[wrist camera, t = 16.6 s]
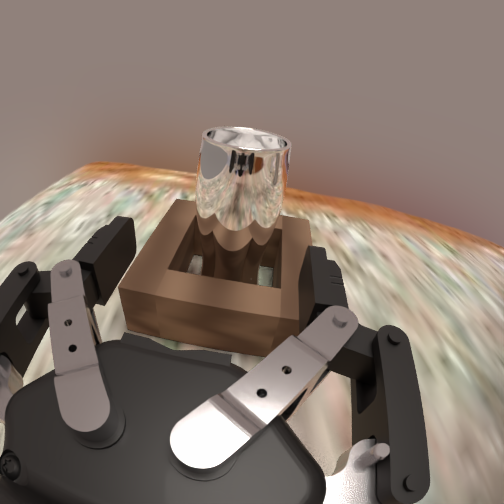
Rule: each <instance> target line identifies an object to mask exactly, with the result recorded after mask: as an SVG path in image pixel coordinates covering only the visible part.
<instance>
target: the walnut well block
mask: <svg viewBox="0 0 504 504" xmlns="http://www.w3.org/2000/svg"><path fill="white" fill-rule="evenodd" d="M308 245H310V246H312V239H311V232H310V225H309V220H305V219H300V218H294V217H288V216H283V215H279V218H278V220H277V223H276V226H275V228H274V231H273V233H272V236H271V238H270V240H269V243H268V245H267V247H266V250H265V252H264V255H263V257H262V260H261V263H260V265H261V266H267V267H273V268H274V269H273V286H272V287H267V286H260V285H254V284H248V283H242V282H236V281H230V280H224V279H218V278H213V277H207V276H201V275H196V274H190V273H186V272H187V269H188V267H189V265H190V262H191V260H192V257H193V255H194V254H195V255H201V256H202V247H201V240H200V234H199V228H198V221H197V213H196V202H194V201H187V200H180V199H176V200H175V202H174V203H173V205H172V206H171V207H170V209H169V210H168V212H167V213H166V214H165V216H164V217H163V219H162V220H161V222H160V223H159V224H158V226H157V227H156V229H155V230H154V232H153V233H152V235H151V236H150V238H149V239H148V241H147V242H146V244H145V245H144V247H143V248H142V250H141V251H140V253H139V254H138V256H137V257H136V259H135V260H134V262H133V264H132V265H131V267H130V268H129V270H128V272H127V273H126V275H125V276H124V278H123V280H122V281H121V283H120V284H119V286H118V289H119V294H120V299H121V303H122V307H123V312H124V316H125V320H126V324H127V328H128V330H132V331H135V332H139V333H143V334H147V335H152V336H156V337H160V338H164V339H169V340H173V341H178V342H183V343H188V344H192V345H197V346H203V347H208V348H213V349H219V350H224V351H230V352H236V353H242V354H249V355H256V356H263V357H267V356H268V355H269V354H270V353H271V352H272V351H274V350H275V349H276V348H277V347H278V346H279V345H280V344H282V343H283V342H284V341H285V340H286V339H287V338H288V337H290V336H291V335H295V336H296V337H297V336H298V335H299V298H298V280H299V274H300V271H301V267H302V264H303V260H304V256H305V253H306V249H307V247H308Z"/></svg>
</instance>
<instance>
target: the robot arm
mask: <svg viewBox="0 0 504 504" xmlns="http://www.w3.org/2000/svg"><path fill="white" fill-rule="evenodd" d="M135 254H136V238H135V228H134V221H133V219H132V218H129V217H121V216H117V217H115V218H114V220H113V221H112V222H111V223H110V224H109V225H105V226H104V227H102V228H100V229H99V230H97V231H96V232H95V234H94V235H93V236H92V238H90V239H89V240H88V242H87V243H86V244H85V245H84V246H83V247H82V249H81V250H80V251H79V252H78V253H77V255H76V256H75V257H74V258H73V259H72V260H64V261H61V262H59V263H57V264H56V265H55V266H54V267H53V268H52V270H51V271H38V269H37V266H36V264H35V263H34V262H30V261H28V262H23V263H21V264H19V265H17V266H16V267H15V268H14V269H13V270H12V272H11V273H10V274H9V275H8V277H7V278H6V279H5V281H4V282H3V283H2V285H1V286H0V423H2V424H4V425H5V440H4V448H3V452H2V455H1V457H0V504H413V503H416V502H418V501H420V500H421V499H422V498H423V497H424V496H425V495H426V493H427V491H428V489H429V486H430V471H429V458H428V447H427V438H426V429H425V422H424V415H423V408H422V402H421V396H420V390H419V385H418V379H417V374H416V369H415V365H414V360H413V355H412V351H411V347H410V342H409V339H408V337H407V335H406V334H405V333H404V332H403V331H402V330H401V329H400V328H398V327H395V326H392V325H385V326H383V327H381V328H380V329H379V331H378V332H377V331H375V330H372V329H369V328H367V327H364V326H362V325H360V324H359V323H358V319H357V317H356V315H355V314H354V313H353V312H352V311H351V310H349V308H348V303H347V298H346V293H345V288H344V286H343V285H344V283H343V279H342V274H341V269H340V268H339V266H338V265H337V264H336V262H335V261H332V260H327V256H326V250H325V248H322V247H316V246H310V245H308V247H307V249H306V253H305V256H304V260H303V264H302V267H301V271H300V274H299V280H298V298H299V335H298V336H297V337H296V336H295V335H291V336H290V337H288V338H287V339H286V340H285V341H284V342H283V343H282V344H280V345H279V346H278V347H277V348H276V349H275V350H274V351H272V352H271V353H270V354H269V355H268V356H267V357H266V358H264V359H263V360H262V361H261V362H260V363H259V364H257V365H256V366H255V367H254V368H253V369H251V370H250V371H249V372H247V371H245V370H244V369H242V368H241V367H239V366H237V365H235V364H232V363H231V356H232V355H229V354H223V353H218V352H212V351H206V350H172V349H170V348H167V347H165V346H163V345H161V344H159V343H157V342H155V341H153V340H151V339H149V338H145V337H141V336H137V335H133V334H129V333H125V332H124V334H123V336H122V338H121V340H111V341H106V342H103V343H102V339H101V336H100V332H99V328H98V324H97V320H96V316H95V312H94V309H93V307H94V306H95V304H99V305H103V306H105V305H106V303H107V301H108V300H109V298H110V296H111V295H112V293H113V291H114V290H115V288H116V286H117V285H118V283H119V281H120V280H121V278H122V276H123V275H124V273H125V272H126V270H127V268H128V267H129V265H130V264H131V262H132V261H133V259H134V257H135ZM23 304H24V306H25V308H26V312H25V313H24V315H23V316H22V318H21V320H20V321H19V323H18V325H17V326H16V316H17V314H18V312H19V310H20V309H21V307H22V306H23ZM48 327H50V337H51V346H52V353H53V360H54V367H55V369H54V370H52V371H50V372H49V373H47V374H45V375H43V376H42V377H40V378H38V379H36V380H35V381H33V382H31V383H29V384H28V385H26V386H24V387H23V377H24V374H25V372H26V370H27V368H28V366H29V364H30V362H31V360H32V358H33V356H34V354H35V352H36V350H37V348H38V346H39V344H40V342H41V340H42V338H43V337H44V335H45V333H46V331H47V329H48ZM331 371H333V372H336V373H338V374H341V375H344V376H346V377H349V378H351V404H352V447H351V448H349V449H348V450H347V451H345V452H344V453H343V454H341V456H340V457H339V459H338V461H337V464H336V468H335V471H334V473H333V474H332V475H331V476H330V477H325V475H324V473H323V471H322V469H321V467H320V466H319V464H318V463H317V462H316V460H315V459H314V458H313V457H312V455H311V454H310V453H309V451H308V450H307V449H306V448H305V446H304V445H303V444H302V442H301V441H300V440H299V438H298V437H297V436H296V434H295V433H294V432H293V430H292V429H291V428H290V426H289V425H288V424H287V421H288V420H289V419H290V418H291V417H292V416H293V415H294V414H295V413H296V412H297V411H298V409H299V408H300V407H301V406H302V404H303V403H304V402H305V401H306V400H307V398H308V397H309V396H310V395H311V394H312V393H313V392H314V390H315V389H316V388H317V387H318V386H319V385H320V384H321V382H322V381H323V380H324V379H325V378H326V377H327V375H328V374H329V373H330V372H331Z"/></svg>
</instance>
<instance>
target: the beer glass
mask: <svg viewBox="0 0 504 504" xmlns="http://www.w3.org/2000/svg"><path fill="white" fill-rule="evenodd" d="M291 147H292V144H291V142H290V141H289V140H287V139H286V138H284V137H282V136H280V135H278V134H275V133H271V132H268V131H263V130H259V129H254V128H246V127H216V128H210V129H208V130H205V131H204V132H203V134H202V144H201V149H200V155H199V161H198V168H197V177H196V213H197V221H198V228H199V234H200V240H201V247H202V267H201V271H200V275H201V276H207V277H213V278H218V279H224V280H230V281H236V282H242V283H248V284H254V285H259V267H260V263H261V260H262V257H263V255H264V252H265V250H266V247H267V245H268V243H269V240H270V238H271V236H272V233H273V231H274V228H275V226H276V223H277V220H278V218H279V215H280V212H281V208H282V204H283V200H284V196H285V190H286V184H287V178H288V170H289V159H290V151H291Z"/></svg>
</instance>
